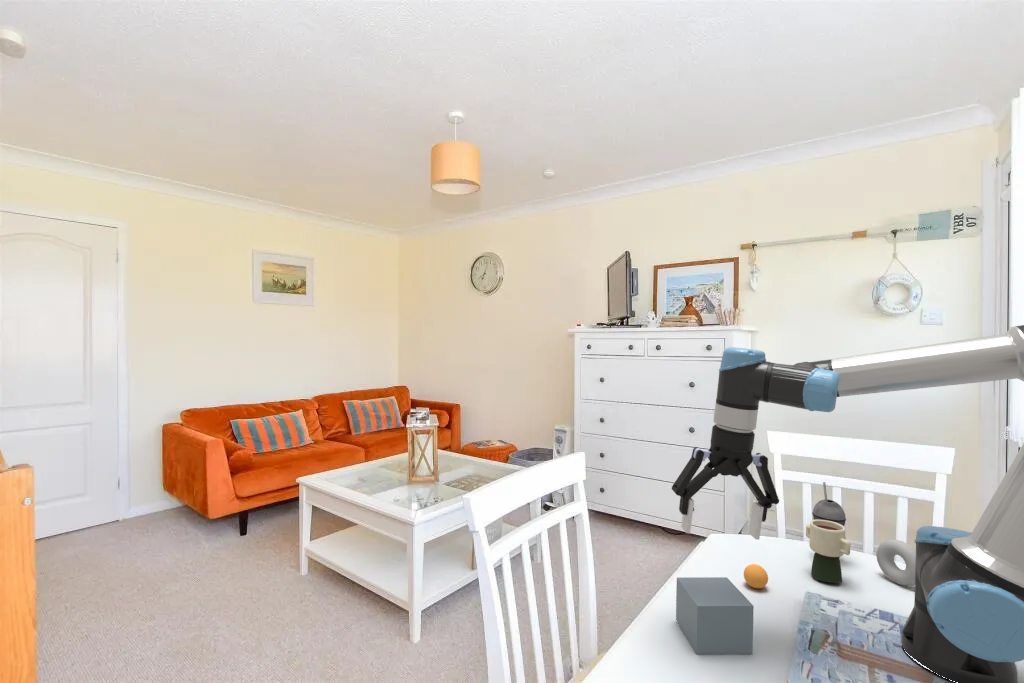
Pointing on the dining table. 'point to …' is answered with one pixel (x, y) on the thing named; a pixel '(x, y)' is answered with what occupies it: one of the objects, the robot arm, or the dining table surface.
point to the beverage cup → (829, 510)
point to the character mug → (827, 549)
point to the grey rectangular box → (714, 616)
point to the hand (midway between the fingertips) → (719, 533)
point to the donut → (888, 565)
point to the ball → (755, 576)
